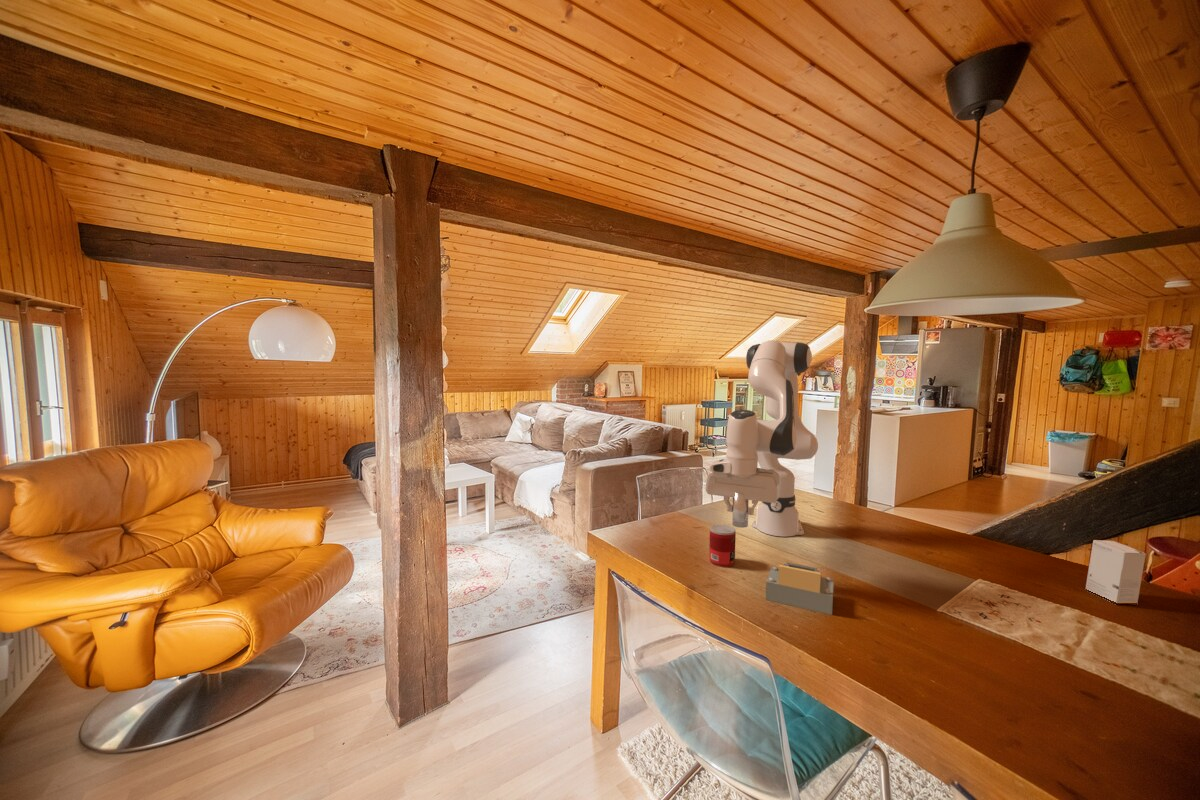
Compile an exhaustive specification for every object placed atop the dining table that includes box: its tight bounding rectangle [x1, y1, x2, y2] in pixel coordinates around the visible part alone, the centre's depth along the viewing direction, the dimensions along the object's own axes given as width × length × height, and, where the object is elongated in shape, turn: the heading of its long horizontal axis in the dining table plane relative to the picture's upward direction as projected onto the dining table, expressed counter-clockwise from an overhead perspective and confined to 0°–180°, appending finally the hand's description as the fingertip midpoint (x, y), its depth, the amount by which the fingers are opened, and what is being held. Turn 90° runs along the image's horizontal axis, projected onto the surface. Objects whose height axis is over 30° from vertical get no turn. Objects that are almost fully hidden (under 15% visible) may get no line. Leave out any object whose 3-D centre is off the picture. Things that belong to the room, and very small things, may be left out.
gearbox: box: [765, 562, 835, 616], centre depth 124 cm, size 10×16×10 cm, turn 62°
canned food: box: [708, 524, 737, 568], centre depth 147 cm, size 8×8×11 cm
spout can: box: [731, 493, 750, 529], centre depth 134 cm, size 4×4×11 cm
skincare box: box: [1085, 539, 1147, 604], centre depth 124 cm, size 8×6×15 cm
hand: (740, 512), depth 134 cm, fingers closed on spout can, 4 cm apart
